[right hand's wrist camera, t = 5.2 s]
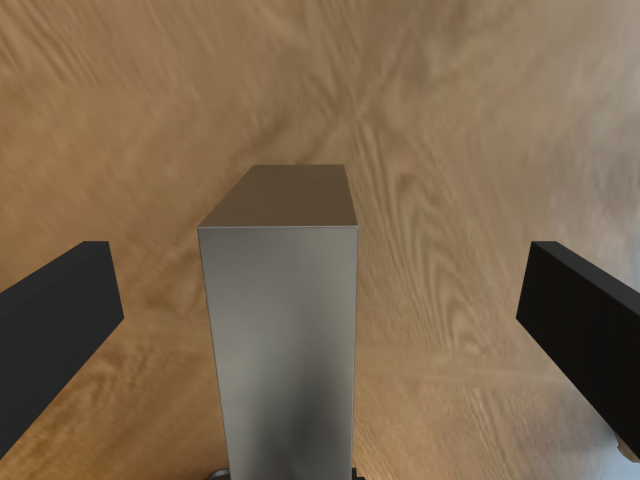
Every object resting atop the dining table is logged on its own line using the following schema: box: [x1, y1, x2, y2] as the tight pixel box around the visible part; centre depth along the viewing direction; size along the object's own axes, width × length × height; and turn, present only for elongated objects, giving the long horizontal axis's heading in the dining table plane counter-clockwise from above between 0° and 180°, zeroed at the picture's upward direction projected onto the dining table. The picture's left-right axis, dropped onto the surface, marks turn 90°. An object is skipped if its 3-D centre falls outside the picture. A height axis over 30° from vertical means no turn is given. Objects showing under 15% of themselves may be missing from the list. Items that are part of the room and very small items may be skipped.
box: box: [197, 164, 359, 480], centre depth 25 cm, size 23×6×12 cm, turn 1°
